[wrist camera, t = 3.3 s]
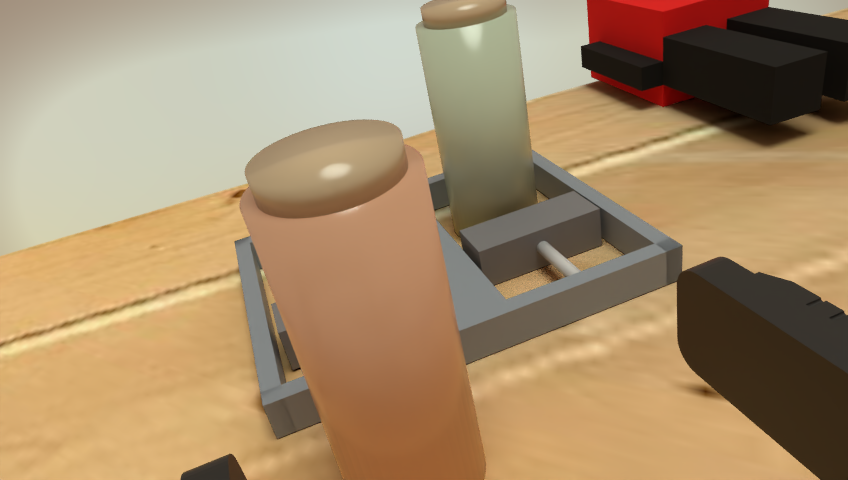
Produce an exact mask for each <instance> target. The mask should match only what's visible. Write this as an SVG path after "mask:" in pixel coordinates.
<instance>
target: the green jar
mask: <svg viewBox="0 0 848 480" xmlns="http://www.w3.org/2000/svg"><path fill="white" fill-rule="evenodd" d="M421 13H422V19H423V21H421V22H420V23H418V24H417V25H416V33H417V38H418V44H419V49H420V54H421V59H422V64H423V70H424V75H425V80H426V85H427V90H428V96H429V101H430V106H431V110H432V116H433V122H434V126H435V132H436V137H437V142H438V148H439V153H440V158H441V163H442V168H443V174H444V179H445V184H446V189H447V194H448V200H449V205H450V210H451V215H452V220H453V226H454V230H455V233H456V234H457V235H458V236H459V237H460V230H463V229H466V228H468V227H471V226H474V225H477V224H480V223H483V222H486V221H488V220H491V219H494V218H497V217H500V216H503V215H506V214H509V213H511V212H514V211H517V210H520V209H523V208H526V207H529V206H532V205H534V204H537V203H538V201H537V192H536V184H535V175H534V166H533V157H532V148H531V139H530V130H529V122H528V113H527V104H526V95H525V86H524V78H523V68H522V60H521V51H520V42H519V34H518V25H517V15H516V8H515V7H514V6H512V5H508V4H506V0H433V1H430V2H428V3H426V4H424V5H423V6H422V7H421ZM460 238H461V237H460Z"/></svg>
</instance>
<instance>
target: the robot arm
mask: <svg viewBox="0 0 848 480" xmlns="http://www.w3.org/2000/svg"><path fill="white" fill-rule="evenodd" d="M677 337H678V345H679V348H680V351H681V353H682V355H683V357H684V359H685V361H686V362H687V364H688V365H689V367H690V368H691V369H692V370H693V371H694V372H695V373H696V374H697V375H698V376H700V377H701V378H702V379H703V380H704V381H705V382H707V383H708V384H709V385H710V386H711V387H712V388H714V389H715V390H716V391H717V392H718V393H719V394H721V395H722V396H723V397H724V398H725V399H727V400H728V401H729V402H730V403H731V404H732V405H734V406H735V407H736V408H737V409H738V410H739V411H741V412H742V413H743V414H744V415H745V416H746V417H748V418H749V419H750V420H751V421H752V422H753V423H755V424H756V425H757V426H758V427H759V428H760V429H762V430H763V431H764V432H765V433H766V434H768V435H769V436H770V437H771V438H772V439H773V440H775V441H776V442H777V443H778V444H779V445H780V446H782V447H783V448H784V449H785V450H786V451H787V452H789V453H790V454H791V455H792V456H793V457H794V458H796V459H797V460H798V461H799V462H800V463H802V464H803V465H804V466H805V467H806V468H807V469H809V470H810V471H811V472H812V473H813V474H814V475H816V476H817V477H818V478H819V479H820V480H848V315H846V314H845V313H844V311H843V310H842V309H840V308H838V307H836V306H835V305H833V304H831V303H829V302H827V301H825V302H823V301H822V300H821V298H820V297H819V296H817V295H815V294H813V293H812V292H810V291H808V290H806V289H805V288H803V287H801V286H799V285H798V284H796V283H794V282H792V281H788V280H785V279H781V278H778V277H774V276H771V275H767V274H764V273H760V272H758V273H756V274H754V273H752V272H750V271H749V270H747V269H745V268H744V267H742V266H740V265H739V264H737V263H735V262H734V261H732V260H730V259H728V258H725V257H717V258H714V259H712V260H710V261H707V262H705V263H702V264H700V265H697V266H695V267H692V268H690V269H687V270H685V271H683V272H681V273H680V274H679V276H678V279H677ZM181 480H247V479H246V477H245V475H244V473H243V471H242V469H241V467H240V465H239V464H238V462H237V460H236V458H235V457H234V456H233V455H232V454H228V455H226V456H223V457H221V458H218V459H216V460H213V461H211V462H208V463H206V464H204V465H201V466H199V467H196V468H194V469H191V470H189V471H186V472H184V473H183V474H182V476H181Z"/></svg>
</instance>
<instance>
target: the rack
mask: <svg viewBox="0 0 848 480" xmlns="http://www.w3.org/2000/svg"><path fill="white" fill-rule="evenodd" d="M532 157H533V166H534V175H535V184H536V189H537V190H539V191H540V192H541V193H543V194H544V195H545V196H547V197H548V198H549V200H546V201H543V202H540V203H537V204H534V205H532V206H529V207H526V208H523V209H520V210H517V211H514V212H511V213H509V214H506V215H503V216H500V217H497V218H494V219H491V220H488V221H486V222H483V223H480V224H477V225H474V226H471V227H468V228H466V229H463V230H460V237H461V242H462V247H463V250H462V248H461V247H460V246H459V245H458V244H457V243H456V242H455V240H454V239H453V238H452V237H451V236H450V235H449V234H448V232H447V231H446V230H445V229H444V228H443V227H442V226H441V224H440V223H439V222H438V221H437V220H436V222H437V227H438V232H439V236H440V241H441V246H442V251H443V256H444V261H445V266H446V270H447V275H448V280H449V285H450V290H451V295H452V299H453V304H454V309H455V314H456V319H457V324H458V328H459V333H460V338H461V343H462V348H463V353H464V358H465V362H466V364H468V363H471V362H473V361H476V360H478V359H481V358H483V357H486V356H488V355H491V354H493V353H496V352H498V351H501V350H504V349H506V348H509V347H511V346H514V345H516V344H519V343H521V342H524V341H526V340H529V339H531V338H534V337H536V336H539V335H542V334H544V333H547V332H549V331H552V330H554V329H557V328H559V327H562V326H564V325H567V324H569V323H572V322H574V321H577V320H579V319H582V318H585V317H587V316H590V315H592V314H595V313H597V312H600V311H602V310H605V309H607V308H610V307H612V306H615V305H617V304H620V303H623V302H625V301H628V300H630V299H633V298H635V297H638V296H640V295H643V294H645V293H648V292H650V291H653V290H655V289H658V288H661V287H663V286H666V285H668V284H671V283H673V282H676V281H677V279H678V276H679V274H680V273H681V272H682V245H681V244H679V243H678V242H676V241H675V240H673V239H672V238H670V237H668V236H667V235H665V234H664V233H662V232H661V231H659V230H657V229H656V228H654V227H653V226H651V225H650V224H648V223H646V222H645V221H643V220H642V219H640V218H639V217H637V216H635V215H634V214H632V213H631V212H629V211H628V210H626V209H624V208H623V207H621V206H620V205H618V204H617V203H615V202H613V201H612V200H610V199H609V198H607V197H606V196H604V195H602V194H601V193H599V192H598V191H596V190H595V189H593V188H591V187H590V186H588V185H587V184H585V183H584V182H582V181H580V180H579V179H577V178H576V177H574V176H573V175H571V174H569V173H568V172H566V171H565V170H563V169H562V168H560V167H558V166H557V165H555V164H554V163H552V162H551V161H549V160H548V159H546V158H544V157H543V156H541V155H540V154H538V153H537V152H535V151H533V150H532ZM428 183H429V188H430V193H431V198H432V203H433V207H434V210H436V209H439V208H441V207H444V206H447V205H449V200H448V194H447V189H446V184H445V179H444V174H443V173H442V174H439V175H436V176H433V177H430V178H428ZM601 237H602V238H603V239H605V240H606V241H607V242H609V243H610V244H612V245H613V246H614V247H616V248H617V249H618V250H620V251H621V252H622V253H624V254H625V255H623V256H620V257H618V258H615V259H612V260H610V261H607V262H604V263H602V264H599V265H597V266H594V267H591V268H589V269H586V270H583V271H580V270H579V269H578V268H577V267H575V266H574V265H573V264H572V263H571V262H570V261H569V260H567V259H566V258H569V257H571V256H574V255H577V254H579V253H582V252H585V251H588V250H590V249H593V248H596V247H598V246H601V245H602V238H601ZM235 247H236V253H237V259H238V265H239V270H240V276H241V282H242V288H243V294H244V300H245V305H246V311H247V317H248V323H249V329H250V335H251V340H252V346H253V352H254V358H255V364H256V369H257V375H258V381H259V387H260V393H261V399H262V404H263V408H264V410H265V412H266V415H267V417H268V419H269V421H270V424H271V426H272V428H273V430H274V433H275V435H276V437H277V439H278V438H281V437H283V436H286V435H288V434H291V433H293V432H296V431H298V430H301V429H304V428H306V427H309V426H311V425H314V424H316V423H319V422H321V420H320V417H319V414H318V412H317V409H316V407H315V404H314V401H313V399H312V396H311V394H310V391H309V388H308V386H307V383H306V380H305V378H304V376H303V377H300V378H298V379H295V380H292V381H290V382H287V383H286V380H285V376H284V371H283V367H282V363H281V358H280V354H279V350H278V345H277V341H276V337H275V332H274V328H273V324H272V319H271V315H270V311H269V306H268V302H267V298H266V294H265V289H264V285H263V281H262V276H261V272H260V269H261V268H262V265H261V263H260V260H259V257H258V255H257V252H256V250H255V247H254V244H253V242H252V239H251V236H249V237H246V238H243V239H240V240H237V241H235ZM550 264H552V265H553V266H554V267H555V268H556V269H557V270H558V271H559V272H561V273H562V274H563V275H564V276H565V278H562V279H559V280H557V281H554V282H552V283H549V284H546V285H544V286H541V287H538V288H536V289H533V290H530V291H528V292H525V293H522V294H520V295H517V296H515V297H512V298H509V299H507V300H506V299H505V298H504V297H503V296H502V294H501V293H500V292H499V291H498V290H497V289H496V288H495V286H494V285H496V284H499V283H501V282H504V281H507V280H509V279H512V278H515V277H518V276H520V275H523V274H526V273H528V272H531V271H534V270H536V269H539V268H542V267H544V266H547V265H550Z"/></svg>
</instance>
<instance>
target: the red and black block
mask: <svg viewBox="0 0 848 480" xmlns="http://www.w3.org/2000/svg"><path fill="white" fill-rule="evenodd" d="M768 5H769V0H587V10H588V26H589V44H588V45H584V46H581V55H582V67H584V68H586V69H588V70H591V77H592V78H594V79H597V80H600V81H603V82H605V83H607V84H610V85H612V86H614V87H617V88H619V89H622V90H624V91H626V92H629V93H631V94H633V95H636V96H638V97H641V98H643V99H645V100H648V101H650V102H652V103H655V104H657V105H660V106H662V107H664V106H668V105H671V104H674V103H678V102H681V101H684V100H687V99H691V98H694V97H696V98H699V99H702V100H704V101H707V102H710V103H712V104H715V105H718V106H720V107H723V108H726V109H728V110H731V111H734V112H736V113H739V114H742V115H744V116H747V117H750V118H752V119H755V120H758V121H760V122H763V123H766V124H768V125H773V124H776V123H779V122H782V121H786V120H789V119H792V118H795V117H798V116H801V115H804V114H807V113H810V112H814V111H817V110H820V106H821V98H822V95H823V96H827V97H830V98H833V99H837V100H840V101H844V102H845V101H848V20H845V19H839V18H833V17H826V16H820V15H814V14H808V13H801V12H795V11H790V10H783V9H777V8H771V7H768Z"/></svg>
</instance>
